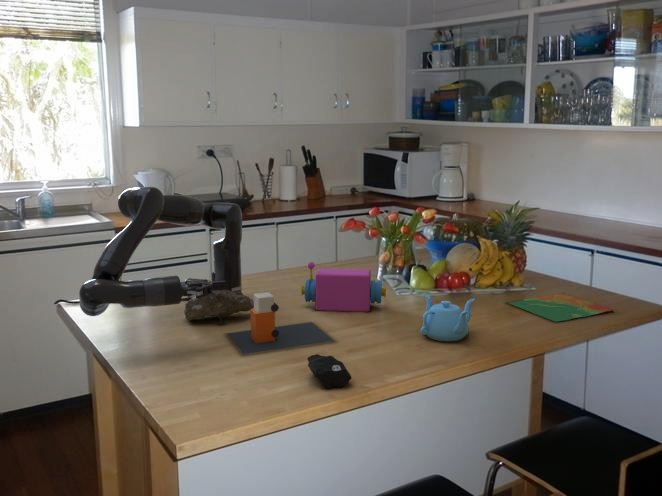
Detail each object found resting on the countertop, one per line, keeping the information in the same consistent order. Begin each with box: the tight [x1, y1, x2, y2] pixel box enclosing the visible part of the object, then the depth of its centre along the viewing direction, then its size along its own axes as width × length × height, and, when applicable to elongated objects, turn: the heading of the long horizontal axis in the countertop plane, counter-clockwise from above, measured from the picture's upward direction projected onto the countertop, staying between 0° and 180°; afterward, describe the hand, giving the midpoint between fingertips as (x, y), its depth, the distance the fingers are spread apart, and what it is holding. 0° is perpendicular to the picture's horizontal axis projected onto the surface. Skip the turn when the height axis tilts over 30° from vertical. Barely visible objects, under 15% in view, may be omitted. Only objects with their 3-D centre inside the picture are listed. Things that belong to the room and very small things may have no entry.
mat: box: [227, 321, 335, 355], centre depth 188 cm, size 26×18×1 cm
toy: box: [300, 261, 387, 313], centre depth 217 cm, size 28×9×15 cm, turn 85°
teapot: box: [420, 293, 476, 342], centre depth 190 cm, size 15×15×10 cm
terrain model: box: [508, 292, 615, 323], centre depth 218 cm, size 25×22×1 cm
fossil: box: [183, 290, 254, 324], centre depth 203 cm, size 22×10×15 cm
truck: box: [249, 291, 280, 343], centre depth 185 cm, size 7×5×13 cm
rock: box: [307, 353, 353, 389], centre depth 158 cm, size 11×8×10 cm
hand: (226, 284), depth 179 cm, fingers closed
